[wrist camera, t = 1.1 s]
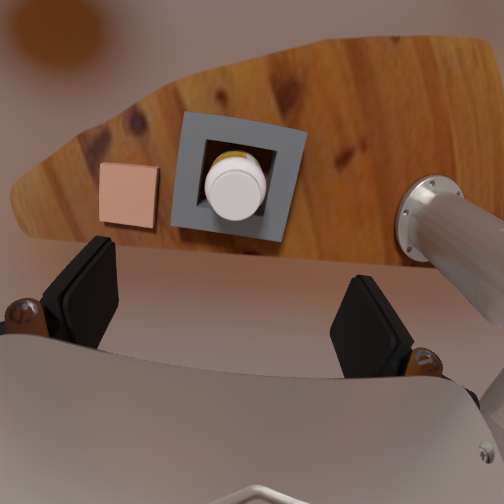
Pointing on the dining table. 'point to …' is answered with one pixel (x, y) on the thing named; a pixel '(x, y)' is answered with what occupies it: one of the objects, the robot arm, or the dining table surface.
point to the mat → (128, 194)
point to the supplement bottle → (235, 185)
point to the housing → (246, 133)
